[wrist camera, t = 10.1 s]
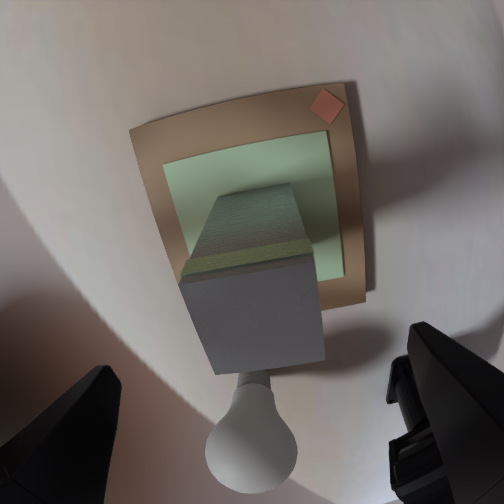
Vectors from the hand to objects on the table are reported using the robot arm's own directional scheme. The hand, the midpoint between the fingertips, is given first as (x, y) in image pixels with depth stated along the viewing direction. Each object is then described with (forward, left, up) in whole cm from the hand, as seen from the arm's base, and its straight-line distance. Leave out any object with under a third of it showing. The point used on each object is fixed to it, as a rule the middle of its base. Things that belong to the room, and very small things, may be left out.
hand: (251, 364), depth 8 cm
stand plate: (0, 0, -12) cm, 12 cm away
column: (0, 0, -11) cm, 11 cm away
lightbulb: (-13, +3, -12) cm, 18 cm away
